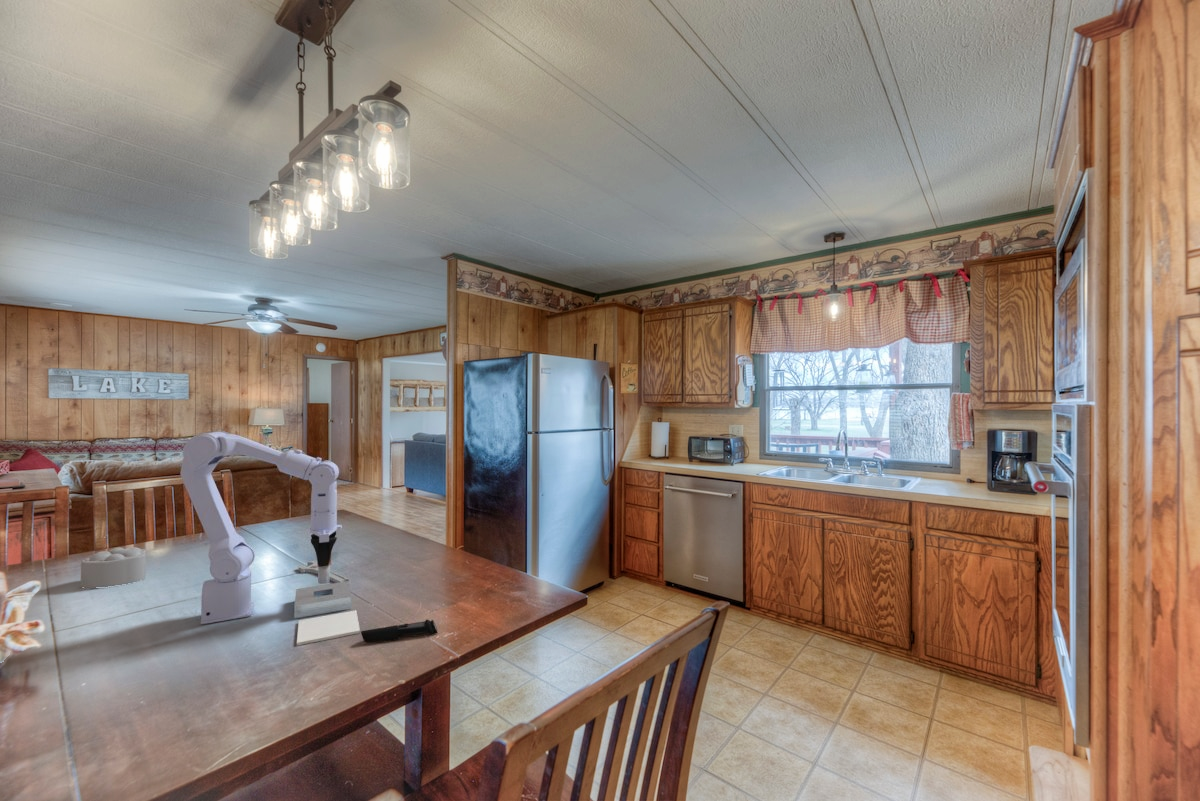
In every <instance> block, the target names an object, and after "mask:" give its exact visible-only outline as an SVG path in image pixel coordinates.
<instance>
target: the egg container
mask: <svg viewBox="0 0 1200 801" xmlns="http://www.w3.org/2000/svg"><path fill="white" fill-rule="evenodd" d="M146 552H147V551H146V549H144V548H140V547H136V546H133V547H132V546H131V547H127V548H123V547H114V548H111V549H110V550H108V551H107V550H104V551H103V550H102V551H98V552H96V553H94V554H93V555H91V557H86V558H84V559H82V560H81V561H80V588H81V587H84V588H96V587H108V586H115V585H121V586H123V585H122V584H126V585H129V584H128V583H131V584H134V583H133V582H136V583H138V582H137V581H139V582H141V581H140V580H142V581H144V580H146V570H147V569H146V568H147V567H146V565H147V564H146V560H147V558H146V557H147V555H146ZM143 579H144V580H143ZM115 587H116V586H115Z"/></svg>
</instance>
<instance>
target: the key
mask: <svg viewBox="0 0 1200 801" xmlns="http://www.w3.org/2000/svg"><path fill="white" fill-rule="evenodd" d="M331 565H332V555H331V556H330V561H329V565H328V566H322V567H319V566H318V562H317V567H318V575H317V583H318V584H319V585H325V584H329V583H330V582H331V581H330V571H331Z"/></svg>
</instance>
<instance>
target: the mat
mask: <svg viewBox="0 0 1200 801" xmlns="http://www.w3.org/2000/svg"><path fill="white" fill-rule="evenodd" d="M358 617H359V616H358V612H357V610H356V609H355V610H350V611H344V612H340V613H333V614H332V613H331V614H327V615H324V616H316V617H312V618H306V619H299V620H298V624H297V625H298V626H297V635H296V636H297V637H296V646H297V647H298V646H302V645H308V644H312V643H316V642H323V641H327V640H332V639H338V638H341V637H347V636H353V635H357V634H361V629H360V623H359V618H358Z"/></svg>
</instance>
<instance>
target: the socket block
mask: <svg viewBox="0 0 1200 801" xmlns="http://www.w3.org/2000/svg"><path fill="white" fill-rule="evenodd" d="M295 589H296V590H295V598H294V607H293V608H294V610H293V611H294V614H293V619H294V620H297V619H302V618H308V617H313V616H319V615H325V614H329V613H330V614H332V613H334V612H335V613H336V612H340V611H347V610H352V594H351V587H350V584H349V581H346V582H340V583H335V582H332V583H326V584H319V585H315V586H307V587H301V588H300V587H299V588H295Z"/></svg>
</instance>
